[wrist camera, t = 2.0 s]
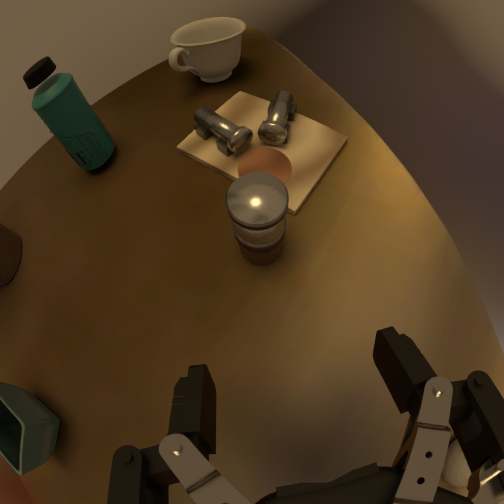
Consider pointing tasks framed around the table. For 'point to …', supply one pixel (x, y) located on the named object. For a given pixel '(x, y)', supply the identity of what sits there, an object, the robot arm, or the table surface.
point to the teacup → (208, 47)
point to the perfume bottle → (456, 467)
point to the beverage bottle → (69, 115)
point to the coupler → (258, 215)
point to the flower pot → (25, 429)
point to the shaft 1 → (222, 131)
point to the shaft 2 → (278, 119)
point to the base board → (270, 149)
